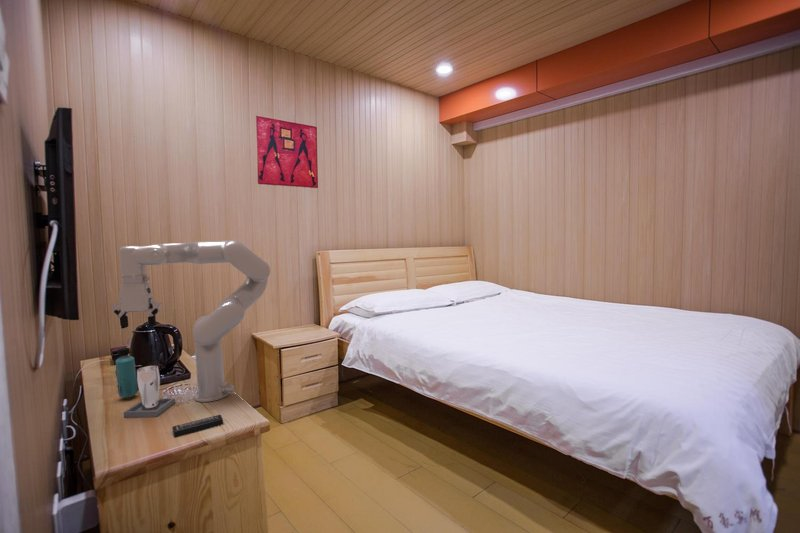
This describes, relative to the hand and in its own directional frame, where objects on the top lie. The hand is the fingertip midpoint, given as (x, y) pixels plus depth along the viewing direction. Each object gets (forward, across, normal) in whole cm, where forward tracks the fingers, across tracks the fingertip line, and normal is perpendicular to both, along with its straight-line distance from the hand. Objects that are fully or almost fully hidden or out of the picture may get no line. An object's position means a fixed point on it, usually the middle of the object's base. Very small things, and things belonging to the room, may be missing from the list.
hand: (138, 327), depth 152 cm
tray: (+30, -3, +2) cm, 31 cm away
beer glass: (+30, -3, +2) cm, 30 cm away
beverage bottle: (+31, +12, -10) cm, 35 cm away
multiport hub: (+31, -28, +18) cm, 45 cm away
